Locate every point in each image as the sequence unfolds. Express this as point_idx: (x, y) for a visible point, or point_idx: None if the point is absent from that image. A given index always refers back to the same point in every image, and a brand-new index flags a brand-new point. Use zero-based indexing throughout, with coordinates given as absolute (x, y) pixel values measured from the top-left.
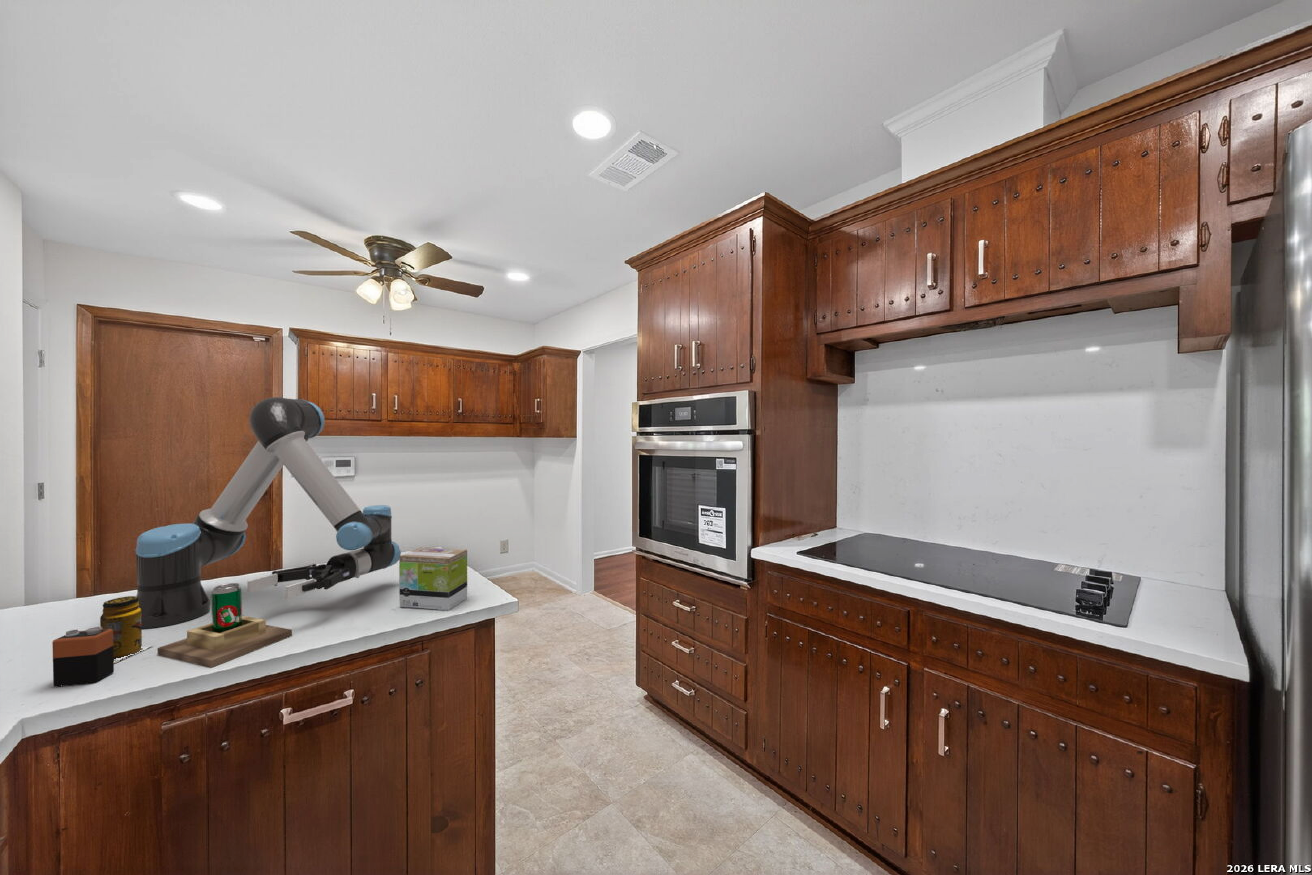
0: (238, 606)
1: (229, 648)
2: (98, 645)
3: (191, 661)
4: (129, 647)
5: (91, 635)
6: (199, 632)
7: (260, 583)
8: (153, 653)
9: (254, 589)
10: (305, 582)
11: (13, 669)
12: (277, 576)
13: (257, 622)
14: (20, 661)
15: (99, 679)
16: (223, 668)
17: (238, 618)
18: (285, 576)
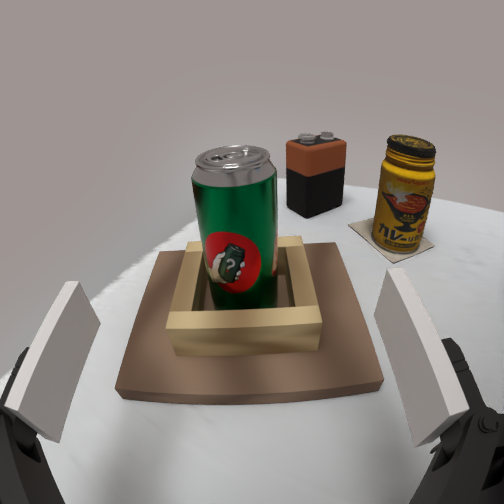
0: (200, 234)
1: (176, 281)
2: (287, 157)
3: None
4: (375, 227)
5: (296, 140)
6: None
7: (400, 338)
8: (349, 254)
9: (382, 329)
10: (29, 359)
11: (431, 198)
12: (440, 426)
13: (172, 310)
14: (456, 205)
15: (288, 206)
16: (138, 267)
17: (206, 267)
18: (435, 483)
